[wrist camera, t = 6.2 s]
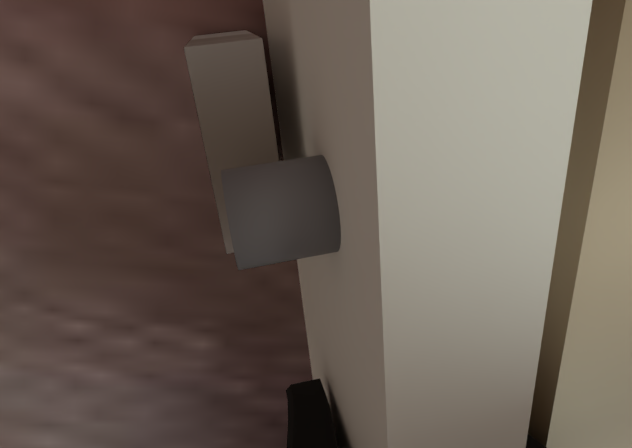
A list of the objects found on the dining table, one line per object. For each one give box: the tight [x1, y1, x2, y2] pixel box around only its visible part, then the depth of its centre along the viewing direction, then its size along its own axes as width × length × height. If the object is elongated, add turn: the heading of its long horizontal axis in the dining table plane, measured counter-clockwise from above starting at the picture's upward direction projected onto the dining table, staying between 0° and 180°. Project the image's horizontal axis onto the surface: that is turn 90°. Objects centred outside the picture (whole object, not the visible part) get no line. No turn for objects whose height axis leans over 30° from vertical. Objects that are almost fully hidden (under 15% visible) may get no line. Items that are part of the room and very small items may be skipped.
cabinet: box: [184, 0, 632, 448], centre depth 11 cm, size 20×15×6 cm
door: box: [221, 0, 593, 448], centre depth 9 cm, size 16×3×7 cm, turn 6°
